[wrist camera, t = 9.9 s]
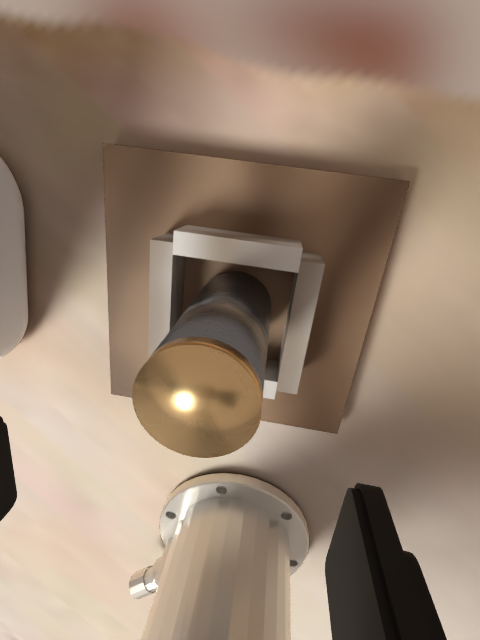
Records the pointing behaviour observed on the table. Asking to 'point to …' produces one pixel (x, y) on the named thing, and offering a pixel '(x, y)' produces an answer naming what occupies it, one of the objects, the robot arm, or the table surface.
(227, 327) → the gold topped cylinder
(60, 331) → the table surface
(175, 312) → the docking plate
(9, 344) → the plastic bottle
